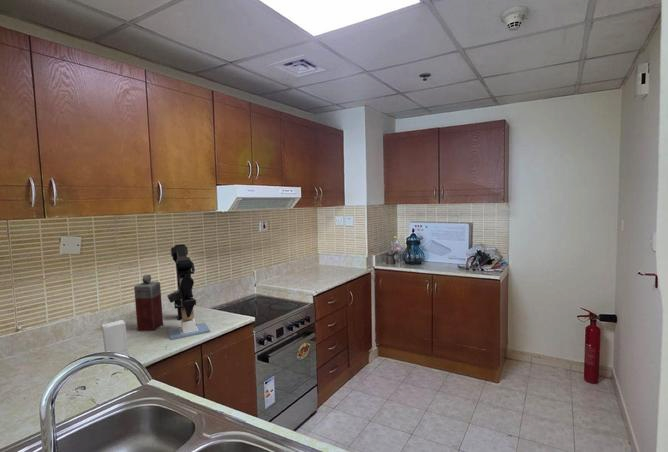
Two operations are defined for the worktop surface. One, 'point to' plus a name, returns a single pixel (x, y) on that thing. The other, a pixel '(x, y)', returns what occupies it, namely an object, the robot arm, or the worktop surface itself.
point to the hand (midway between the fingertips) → (187, 315)
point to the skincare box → (115, 337)
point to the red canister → (148, 305)
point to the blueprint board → (177, 332)
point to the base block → (188, 325)
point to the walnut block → (184, 315)
